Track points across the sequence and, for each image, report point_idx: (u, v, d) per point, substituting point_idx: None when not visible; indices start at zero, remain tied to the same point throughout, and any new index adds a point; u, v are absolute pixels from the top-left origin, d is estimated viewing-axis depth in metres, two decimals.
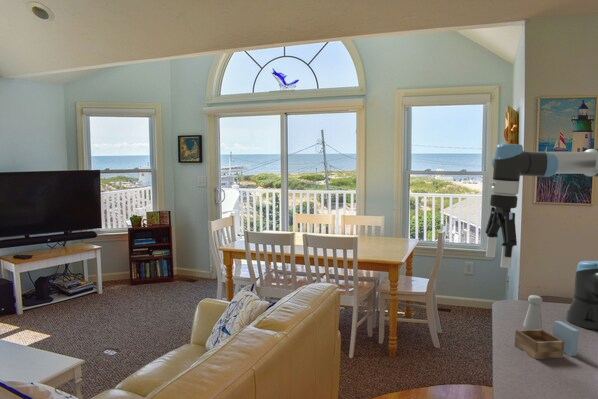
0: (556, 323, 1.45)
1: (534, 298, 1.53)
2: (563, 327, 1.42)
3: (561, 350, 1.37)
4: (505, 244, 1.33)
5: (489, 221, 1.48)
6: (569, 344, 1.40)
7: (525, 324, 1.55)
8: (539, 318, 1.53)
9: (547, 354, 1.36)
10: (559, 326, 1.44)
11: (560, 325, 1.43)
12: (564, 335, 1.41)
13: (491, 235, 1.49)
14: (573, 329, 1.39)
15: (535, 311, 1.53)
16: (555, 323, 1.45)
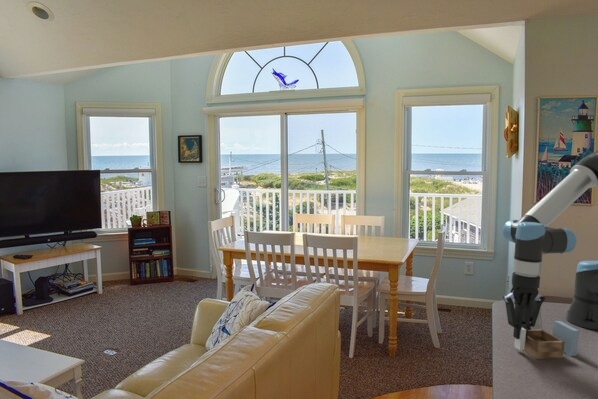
0: (556, 323, 1.45)
1: None
2: (563, 327, 1.42)
3: (561, 350, 1.37)
4: None
5: (531, 308, 1.41)
6: (569, 344, 1.40)
7: None
8: (539, 318, 1.53)
9: (547, 354, 1.36)
10: (559, 326, 1.44)
11: (560, 325, 1.43)
12: (564, 335, 1.41)
13: (523, 324, 1.40)
14: (573, 329, 1.39)
15: None
16: (555, 323, 1.45)
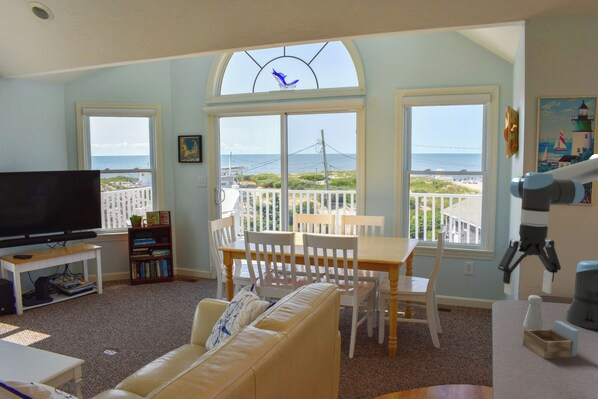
0: (556, 323, 1.45)
1: (534, 298, 1.53)
2: (563, 327, 1.42)
3: (570, 350, 1.38)
4: None
5: (548, 254, 1.40)
6: None
7: (525, 324, 1.55)
8: (539, 318, 1.53)
9: (555, 354, 1.37)
10: (559, 326, 1.44)
11: (560, 325, 1.43)
12: (564, 335, 1.41)
13: (549, 269, 1.40)
14: (573, 329, 1.39)
15: (535, 310, 1.53)
16: (555, 323, 1.45)
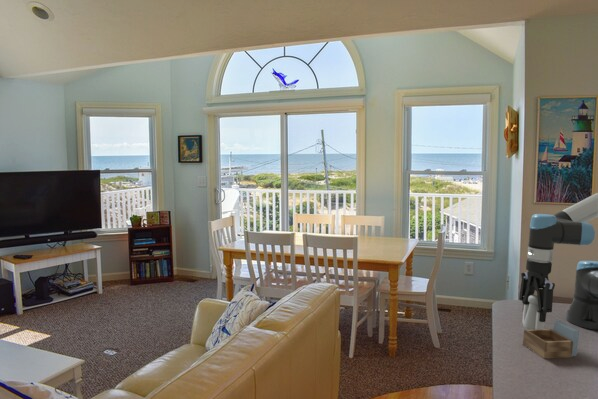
0: (556, 323, 1.45)
1: (534, 298, 1.53)
2: (563, 327, 1.42)
3: (570, 350, 1.38)
4: (541, 311, 1.50)
5: (522, 287, 1.59)
6: None
7: (525, 324, 1.55)
8: None
9: (555, 354, 1.37)
10: (559, 326, 1.44)
11: (560, 325, 1.43)
12: (564, 335, 1.41)
13: (527, 302, 1.58)
14: (573, 329, 1.39)
15: (535, 310, 1.53)
16: (555, 323, 1.45)
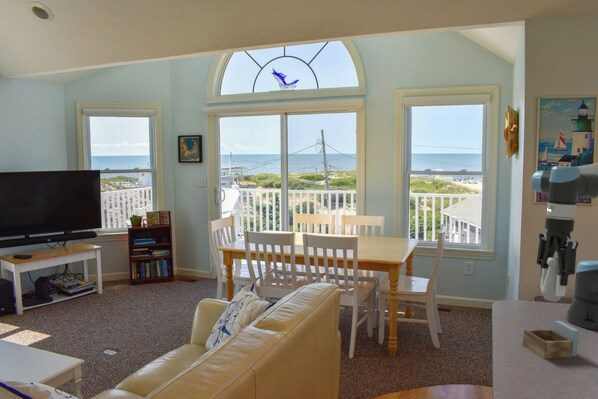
0: (556, 323, 1.45)
1: (554, 260, 1.37)
2: (563, 327, 1.42)
3: (570, 350, 1.38)
4: (562, 274, 1.34)
5: (540, 249, 1.44)
6: None
7: (544, 289, 1.39)
8: None
9: (555, 354, 1.37)
10: (559, 326, 1.44)
11: (560, 325, 1.43)
12: (564, 335, 1.41)
13: (545, 265, 1.43)
14: (573, 329, 1.39)
15: (555, 274, 1.38)
16: (555, 323, 1.45)
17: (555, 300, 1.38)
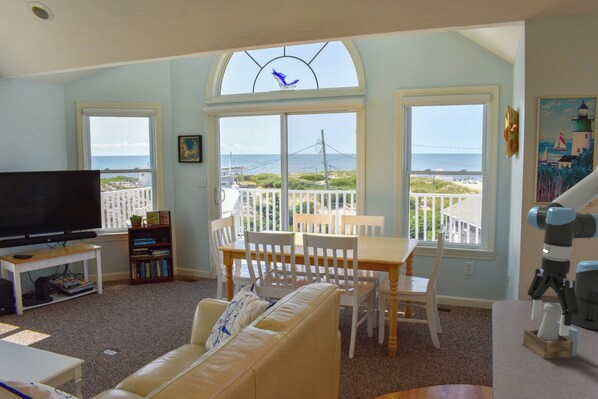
0: None
1: (550, 307, 1.39)
2: None
3: (570, 350, 1.38)
4: (566, 313, 1.33)
5: (534, 283, 1.46)
6: None
7: (540, 335, 1.41)
8: (555, 329, 1.39)
9: (555, 354, 1.37)
10: (559, 326, 1.44)
11: None
12: None
13: (536, 297, 1.46)
14: (573, 329, 1.39)
15: (551, 320, 1.39)
16: None
17: None
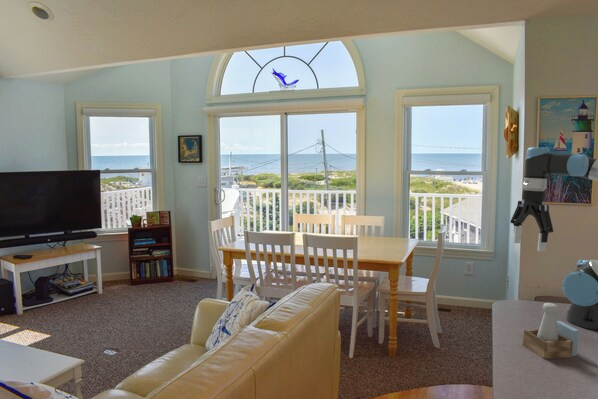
0: None
1: (549, 306, 1.39)
2: (563, 327, 1.42)
3: (570, 350, 1.38)
4: (543, 231, 1.60)
5: (516, 212, 1.75)
6: None
7: (539, 335, 1.41)
8: (555, 328, 1.39)
9: (555, 354, 1.37)
10: (559, 326, 1.44)
11: (560, 325, 1.43)
12: (564, 335, 1.41)
13: (517, 224, 1.75)
14: (573, 329, 1.39)
15: (550, 320, 1.39)
16: None
17: None
